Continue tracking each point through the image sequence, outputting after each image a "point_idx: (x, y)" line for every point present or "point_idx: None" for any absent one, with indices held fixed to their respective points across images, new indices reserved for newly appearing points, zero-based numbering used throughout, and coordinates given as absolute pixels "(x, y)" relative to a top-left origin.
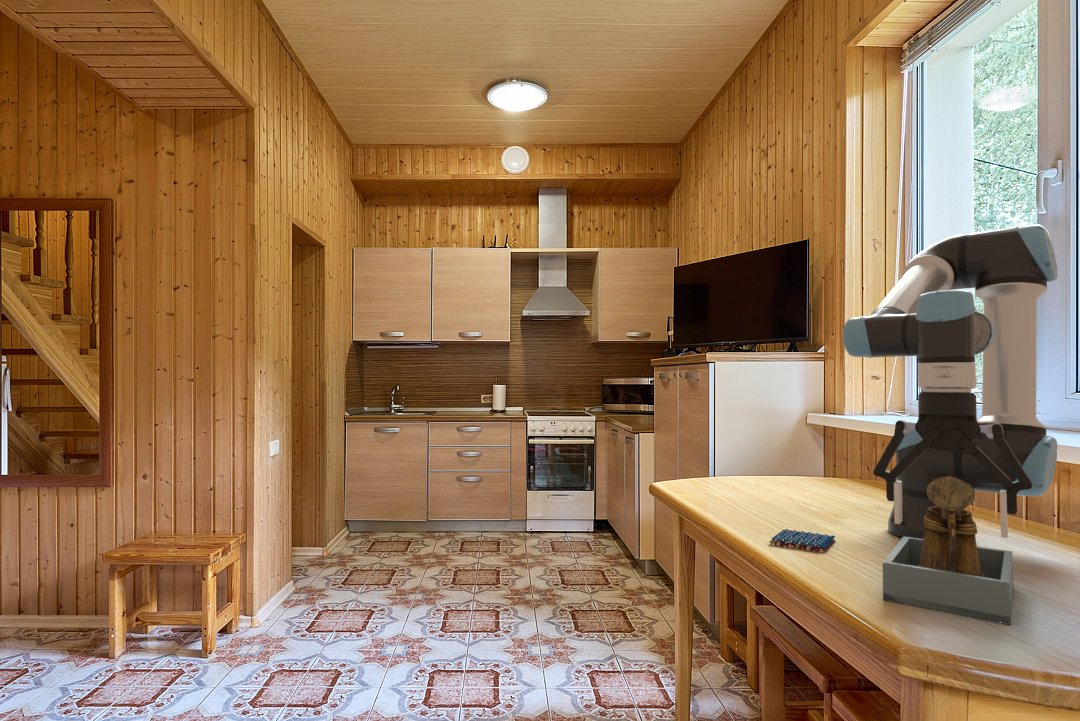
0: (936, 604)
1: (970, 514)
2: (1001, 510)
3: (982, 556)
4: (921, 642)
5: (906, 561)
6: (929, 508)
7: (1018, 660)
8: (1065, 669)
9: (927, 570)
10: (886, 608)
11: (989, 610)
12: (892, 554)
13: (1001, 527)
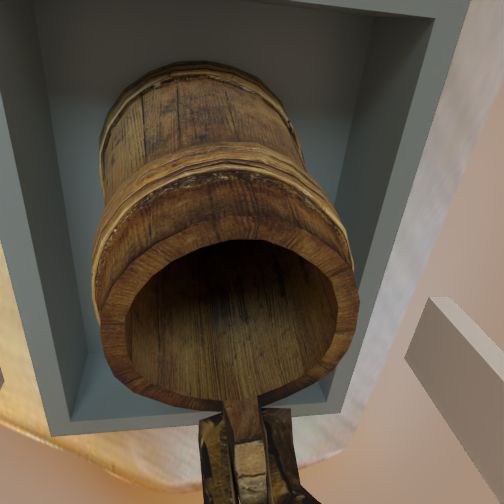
0: None
1: (344, 352)
2: (477, 464)
3: (336, 8)
4: (182, 473)
5: (36, 97)
6: (115, 340)
7: (296, 452)
8: (344, 444)
9: (169, 424)
10: None
11: None
12: (39, 348)
13: (427, 389)
